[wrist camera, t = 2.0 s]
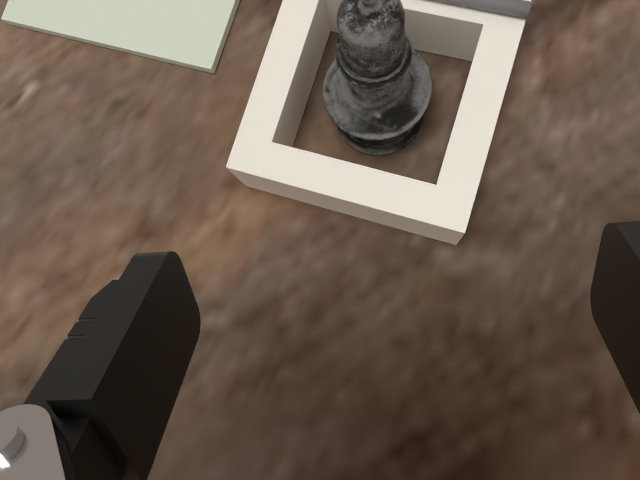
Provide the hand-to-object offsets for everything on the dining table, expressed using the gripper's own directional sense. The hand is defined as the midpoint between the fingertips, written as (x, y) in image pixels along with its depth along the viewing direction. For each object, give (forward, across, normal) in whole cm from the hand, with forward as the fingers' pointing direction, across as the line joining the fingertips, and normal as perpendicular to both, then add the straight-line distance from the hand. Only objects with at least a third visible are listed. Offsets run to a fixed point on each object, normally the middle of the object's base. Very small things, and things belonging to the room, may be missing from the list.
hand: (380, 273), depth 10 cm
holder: (+22, 0, +6) cm, 23 cm away
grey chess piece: (+23, 0, +6) cm, 23 cm away
